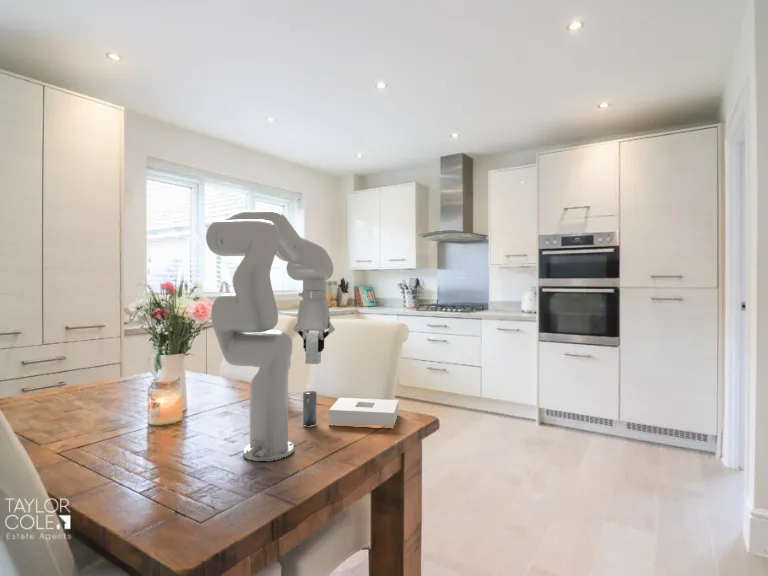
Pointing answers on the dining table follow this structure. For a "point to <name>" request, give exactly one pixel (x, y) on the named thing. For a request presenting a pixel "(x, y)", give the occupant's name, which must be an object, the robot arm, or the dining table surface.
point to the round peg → (309, 408)
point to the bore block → (364, 412)
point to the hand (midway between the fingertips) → (313, 350)
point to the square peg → (312, 349)
